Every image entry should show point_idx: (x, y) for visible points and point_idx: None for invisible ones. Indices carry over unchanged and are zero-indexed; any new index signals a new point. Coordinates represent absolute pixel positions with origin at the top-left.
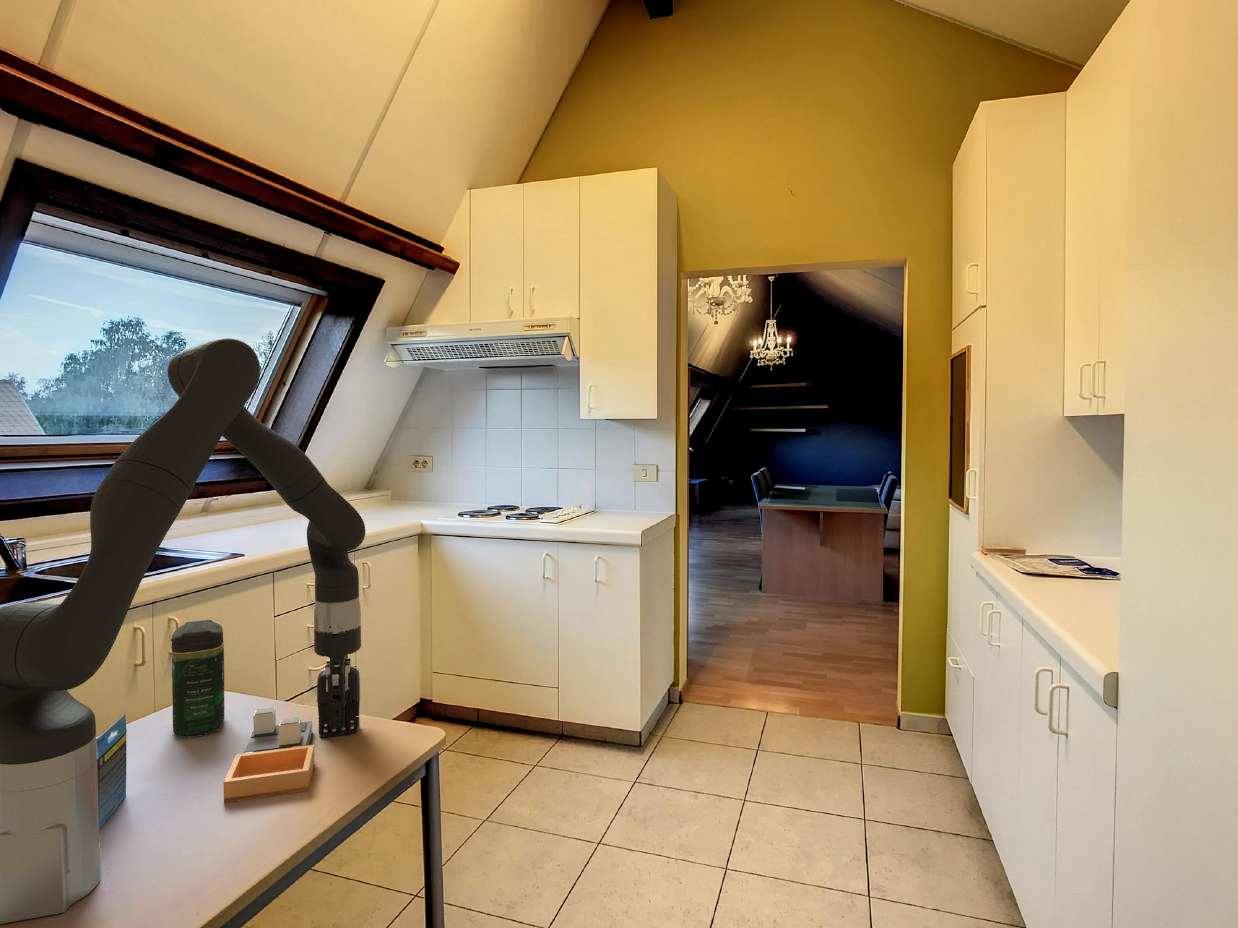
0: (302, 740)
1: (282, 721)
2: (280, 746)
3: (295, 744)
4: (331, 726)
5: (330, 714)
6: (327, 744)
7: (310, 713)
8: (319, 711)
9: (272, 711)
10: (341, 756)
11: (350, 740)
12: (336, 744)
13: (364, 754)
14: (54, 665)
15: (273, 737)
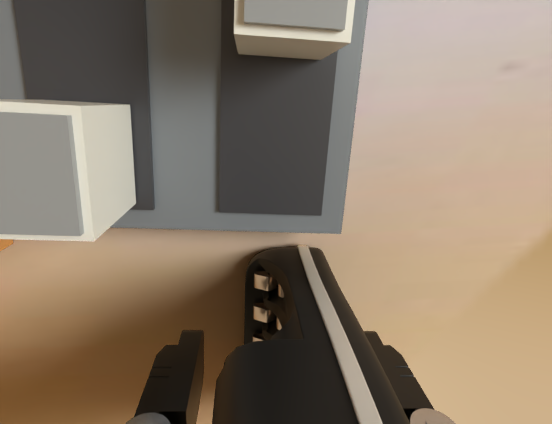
0: None
1: (16, 122)
2: None
3: None
4: (182, 333)
5: (171, 374)
6: (182, 278)
7: (534, 197)
8: (293, 302)
9: (255, 22)
10: (57, 329)
11: None
12: (172, 308)
13: (58, 396)
14: None
15: (191, 57)
